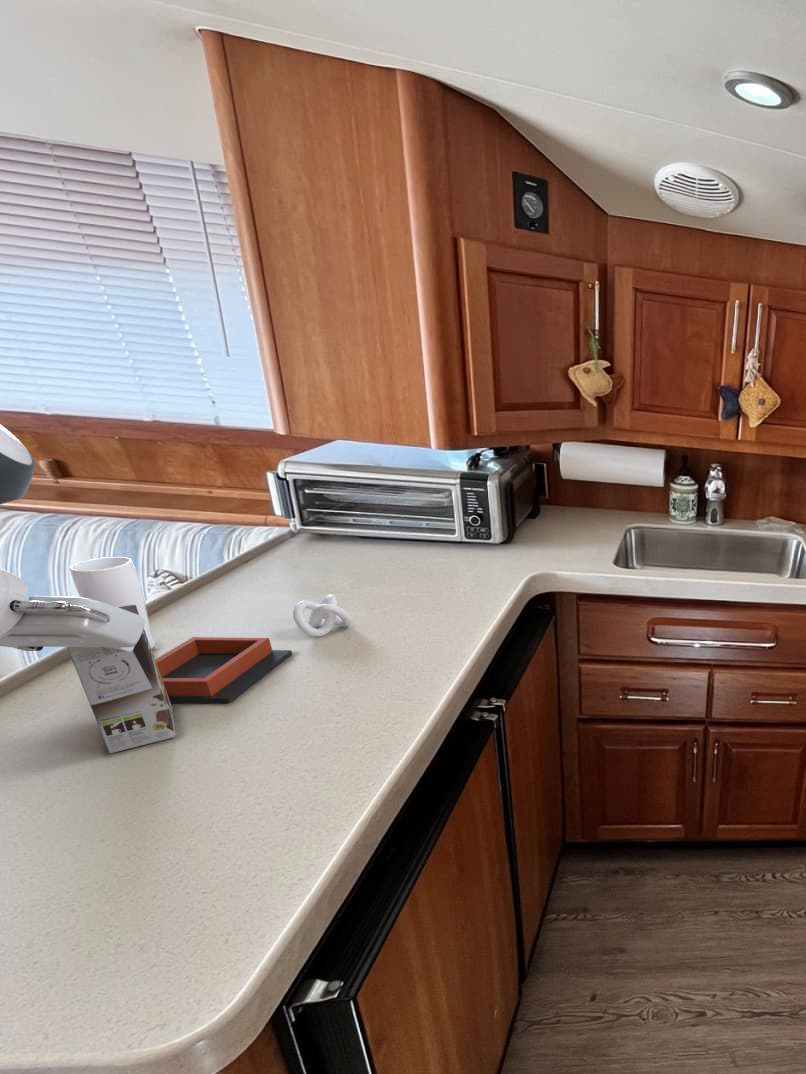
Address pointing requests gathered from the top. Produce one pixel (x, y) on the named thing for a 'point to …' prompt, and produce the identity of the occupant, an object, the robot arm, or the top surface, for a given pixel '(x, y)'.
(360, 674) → the top surface
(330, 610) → the knot
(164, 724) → the coffee box
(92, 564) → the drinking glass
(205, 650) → the dock pad
